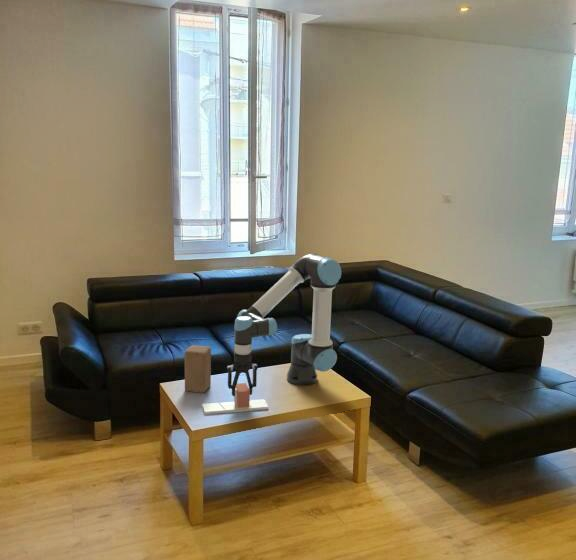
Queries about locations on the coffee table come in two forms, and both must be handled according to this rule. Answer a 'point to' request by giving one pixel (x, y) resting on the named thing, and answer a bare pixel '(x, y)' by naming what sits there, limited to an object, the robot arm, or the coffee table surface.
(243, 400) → the block
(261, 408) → the board
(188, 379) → the wooden block
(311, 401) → the coffee table surface
